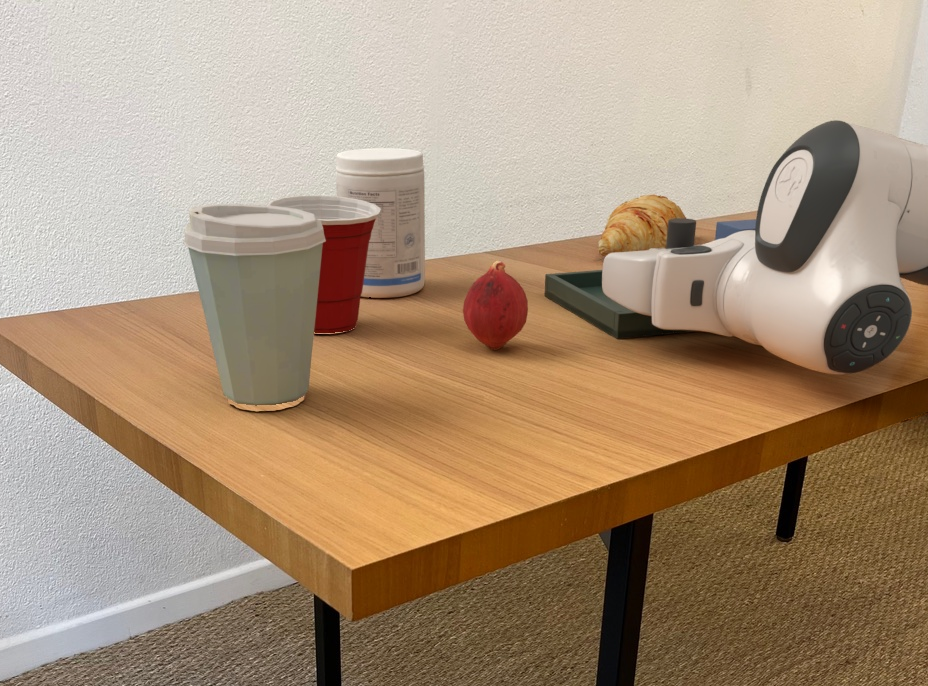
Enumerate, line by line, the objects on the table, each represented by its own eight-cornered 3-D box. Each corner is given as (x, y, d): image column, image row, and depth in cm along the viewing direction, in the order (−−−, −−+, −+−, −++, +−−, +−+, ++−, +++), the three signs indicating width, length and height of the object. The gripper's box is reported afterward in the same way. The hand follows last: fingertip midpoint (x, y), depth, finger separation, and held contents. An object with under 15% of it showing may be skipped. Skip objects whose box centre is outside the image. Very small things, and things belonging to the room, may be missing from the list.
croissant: (621, 293, 129) (653, 238, 124) (559, 246, 132) (588, 191, 127) (693, 259, 144) (725, 209, 139) (637, 218, 147) (665, 168, 142)
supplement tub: (350, 279, 123) (345, 147, 117) (431, 281, 121) (430, 147, 115) (332, 299, 114) (325, 157, 108) (418, 301, 113) (416, 157, 106)
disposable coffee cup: (311, 373, 90) (301, 192, 84) (353, 412, 81) (345, 213, 75) (188, 389, 86) (167, 202, 80) (217, 432, 77) (197, 225, 71)
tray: (676, 284, 118) (684, 195, 114) (766, 324, 102) (780, 222, 98) (544, 296, 114) (547, 203, 110) (617, 339, 99) (624, 233, 94)
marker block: (749, 282, 119) (756, 219, 116) (774, 291, 115) (782, 226, 112) (709, 285, 118) (716, 221, 115) (733, 295, 114) (741, 229, 111)
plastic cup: (334, 350, 96) (328, 216, 91) (250, 331, 102) (240, 205, 97) (406, 324, 104) (404, 200, 99) (324, 309, 110) (319, 190, 105)
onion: (510, 362, 92) (512, 271, 89) (452, 353, 95) (452, 264, 92) (536, 345, 97) (539, 258, 94) (480, 337, 100) (481, 252, 96)
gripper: (861, 240, 91) (770, 215, 104) (647, 256, 86) (579, 228, 99) (849, 311, 94) (762, 279, 106) (642, 331, 89) (576, 295, 101)
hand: (672, 255), depth 102 cm, fingers closed on tray, 2 cm apart
